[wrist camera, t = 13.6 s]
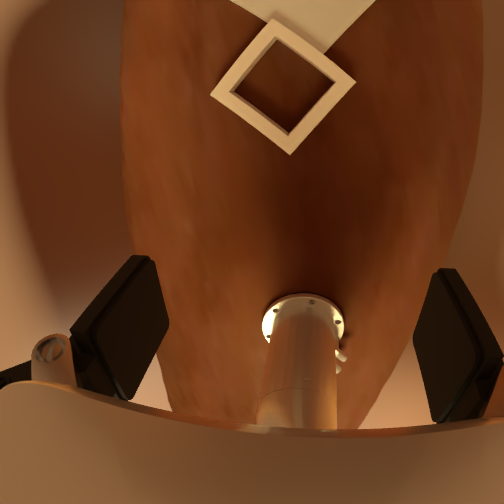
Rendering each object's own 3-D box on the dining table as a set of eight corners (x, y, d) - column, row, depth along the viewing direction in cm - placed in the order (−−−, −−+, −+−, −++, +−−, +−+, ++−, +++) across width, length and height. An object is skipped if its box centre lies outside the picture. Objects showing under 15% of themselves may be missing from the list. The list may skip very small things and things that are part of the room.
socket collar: (352, 82, 30) (356, 81, 27) (291, 150, 35) (289, 155, 33) (274, 22, 27) (272, 18, 25) (216, 94, 33) (209, 94, 31)
